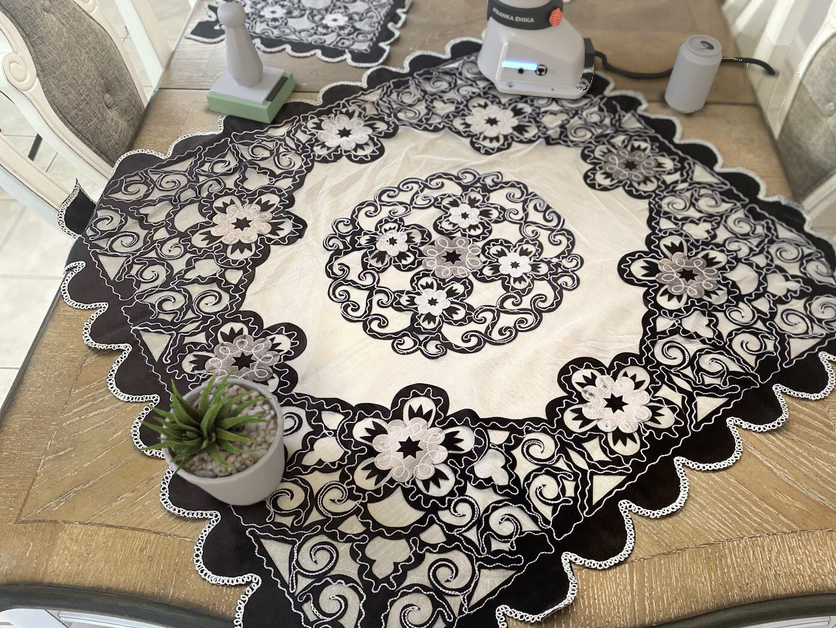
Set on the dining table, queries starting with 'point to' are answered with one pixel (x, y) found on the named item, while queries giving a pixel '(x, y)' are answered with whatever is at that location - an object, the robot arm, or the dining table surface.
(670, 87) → the can
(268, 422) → the potted plant
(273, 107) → the kitchen scale
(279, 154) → the dining table surface
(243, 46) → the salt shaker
